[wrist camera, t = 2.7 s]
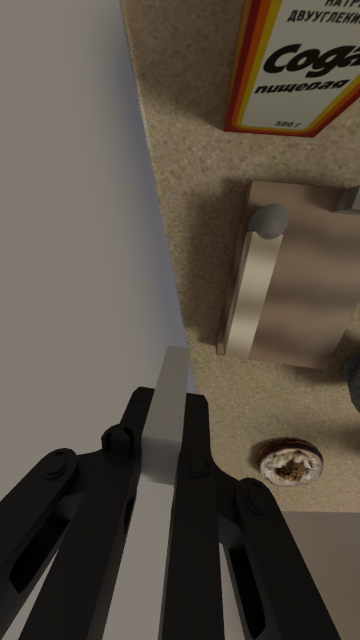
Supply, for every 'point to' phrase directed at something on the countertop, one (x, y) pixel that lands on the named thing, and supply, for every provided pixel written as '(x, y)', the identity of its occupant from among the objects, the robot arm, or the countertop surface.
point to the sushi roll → (290, 462)
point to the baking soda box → (294, 66)
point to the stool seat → (304, 273)
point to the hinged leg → (254, 278)
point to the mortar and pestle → (353, 378)
